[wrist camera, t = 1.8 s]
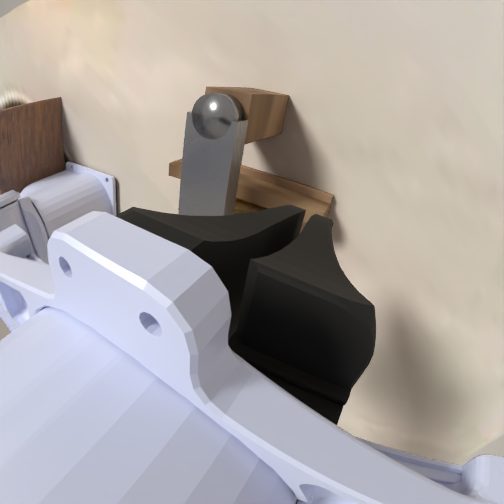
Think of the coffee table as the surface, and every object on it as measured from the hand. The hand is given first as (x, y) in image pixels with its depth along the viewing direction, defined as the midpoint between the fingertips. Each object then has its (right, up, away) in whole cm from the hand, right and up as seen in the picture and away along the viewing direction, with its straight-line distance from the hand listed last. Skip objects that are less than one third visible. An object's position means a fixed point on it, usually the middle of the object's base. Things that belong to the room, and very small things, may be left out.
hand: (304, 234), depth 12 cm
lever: (-4, +2, +6) cm, 8 cm away
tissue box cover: (-37, +16, +25) cm, 47 cm away
